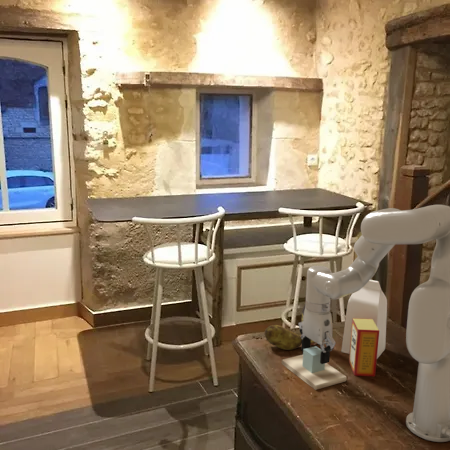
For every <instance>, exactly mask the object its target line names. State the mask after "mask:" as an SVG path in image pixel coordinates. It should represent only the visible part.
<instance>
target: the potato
mask: <svg viewBox="0 0 450 450" xmlns="http://www.w3.org/2000/svg"><path fill="white" fill-rule="evenodd" d="M264 336H265V339H266V341H267V342H268V343H269V344H271V345H272V346H275V347H277V348H278V349H281V350H285V351H290V350H295V349H297V348H301V347H302V339H301V335H299V334H298V333H296V332H293V331H291V330H289V329H288V328H285V327H284V326H282V325H278V324H272V325H269V326H268V327H266V328H265V330H264Z"/></svg>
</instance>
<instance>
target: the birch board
mask: <svg viewBox="0 0 450 450" xmlns="http://www.w3.org/2000/svg"><path fill="white" fill-rule="evenodd" d="M281 365H283V366H284V367H285V368H286V369H288V371H291V372H292V373H293V374H294V375H295V376H297V377H298V378H299V379H300V380H302V381H303V382H304V383H306V384H307V385H308V386H310V387H311V388H312V389H314V391H316V390H320V389H323V388H327V387H330V386H333V385H337V384H340V383H344V382H347V376H346V375H345V374H343V373H341V372H340V371H339V370H338V369H336V368H334V367H333V366H331V365H330V364H329V363H325V370H322V371H318V372H314V373H311V372H310V371H308V370H307V369H306V368H304V367H303V366H302V365H303V354H300V355H296V356H292V357H288V358H284V359H281Z"/></svg>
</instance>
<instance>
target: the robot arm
mask: <svg viewBox="0 0 450 450" xmlns="http://www.w3.org/2000/svg"><path fill="white" fill-rule="evenodd" d="M360 233H361V235H360V237H359V238H358V239H357V240H356V241H355V242H354V245H353V250H354V253H355V254H356V256H357V257H356V258H355V259H354V260H353V262H352V263H351V264H350V265H349V266H348V267H347V268H345V269H342V270H340V271H336V272H332V270H331V268H329V267H327V266H324V265H312V266H310V267H308V269H307V272H306V286H305V288H306V289H305V303H306V306H305V305H304V306H305V310H304V316H303V322H302V321H300V322H298V329H299V333H300V337H301V339H302V344H301V346H300V348H301V351H302V352H303V349H306V348H310V347H311V346H310V345H311V340H313V341H314V342H316V343H317V344H318V345H319V346H320V349H321V350H322V351H321V356H320V363H321V364H324V363H327V364H329V363H330V355H331V352H332V351H333V349H334V347H335V345H336V344H337V343H336V341H335V339H334V338H333V317H332V313H331V311H330V310H331V300H339V299H342V298H344V297H347V296H351V295H352V293H355V292H357V291H359V290H360V289H362V288H363V287H364V286H365V285H366V283H367V282H368V281H369V280H372V278H373V277H374V276H375V274H376V272H377V271H378V268H379V267H380V263H381V261H382V260H383V259H384V257H386V256H387V254H388V253H389V252H390V251H391V250H392V249H393V248H394V247H395V246H396V245H421V244H425V243H428V242H431V241H435V243H436V244H435V247H434V250H433V252H432V256H431V260H430V261H431V265H430V266H431V267H430V273H429V277H428V280H427V281H424V282H423V283H421V284H419V285H418V286H417V287H415V288H414V290H413V291H412V292H411V295H410V298H409V302H408V309H407V318H406V319H407V321H406V331H405V332H406V333H405V337H406V338H405V343H406V348H407V351H408V353H409V354H410V356H411V357H412V358H413V359H414V360H415V361H416V362H418V367H417V374H416V375H417V376H416V384H415V393H414V400H413V411H412V412H410V413H408V415H407V416H406V418H405V425H406V427H407V428H408V430H409V431H410V432H411V433H413V434H414V435H415V436H416V437H417V436H418V437H420V438H422V439H424V440H425V441H431V442H437V443H444V442H446V443H447V442H450V205H447V204H446V205H444V204H433V205H432V204H431V205H427V206H422V207H419V208H418V207H417V208H414V209H405V210H401V209H399V208H394V207H390V208H383V209H378V210H374V211H371V212H369V213H368V214H366V215H365V216H364V218H363V219H362V221H361V223H360ZM325 345H326V346H325Z"/></svg>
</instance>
